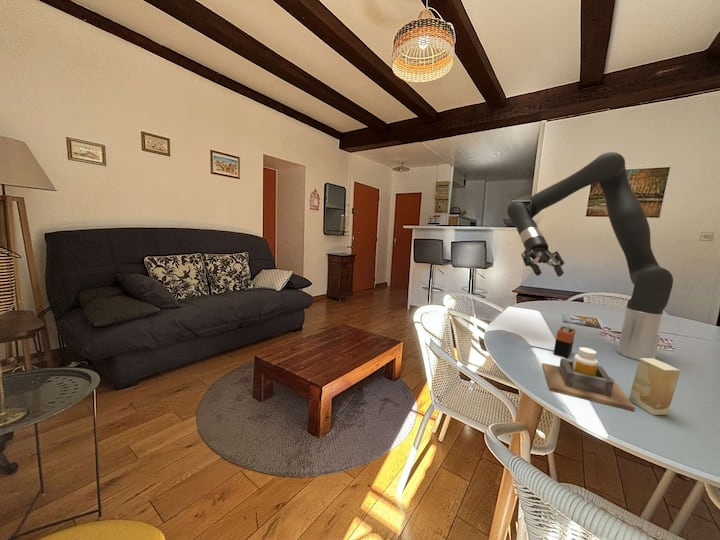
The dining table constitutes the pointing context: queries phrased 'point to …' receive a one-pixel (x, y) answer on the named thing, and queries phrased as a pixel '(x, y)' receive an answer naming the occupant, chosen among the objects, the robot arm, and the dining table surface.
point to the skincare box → (654, 386)
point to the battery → (564, 341)
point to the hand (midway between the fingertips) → (550, 274)
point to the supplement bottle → (585, 362)
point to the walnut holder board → (585, 385)
